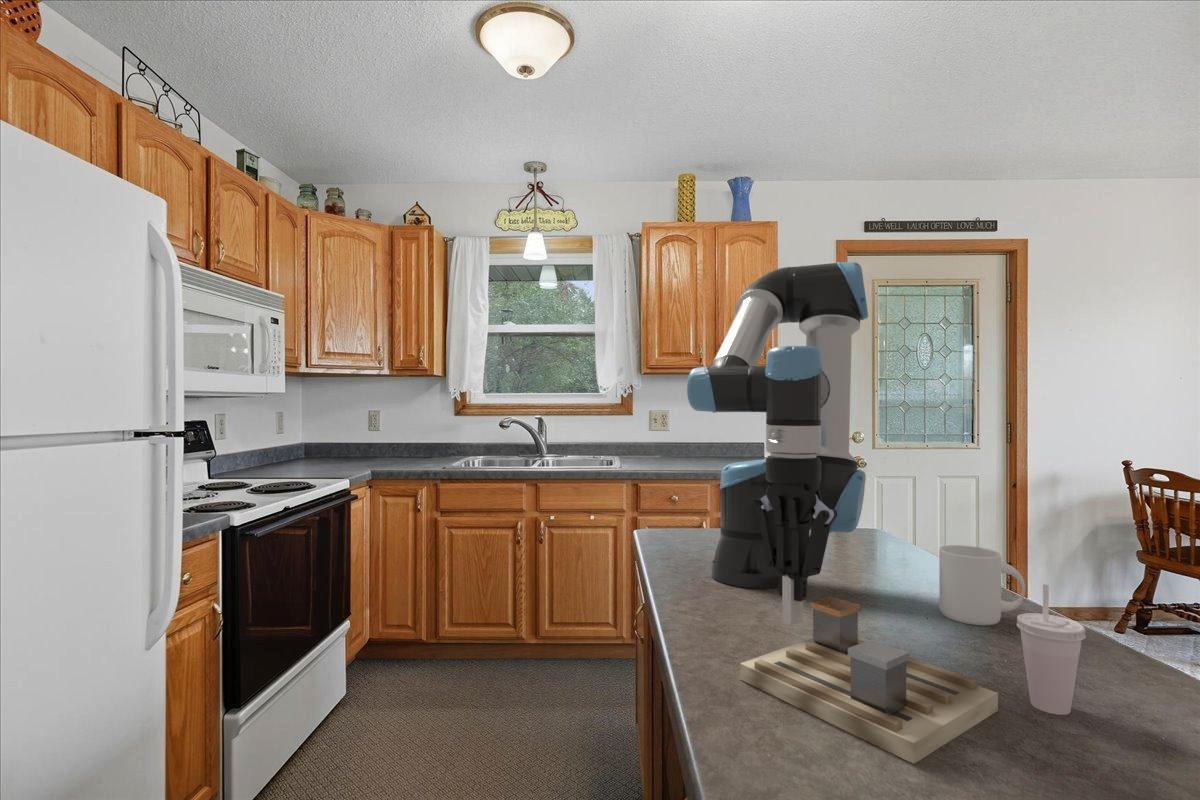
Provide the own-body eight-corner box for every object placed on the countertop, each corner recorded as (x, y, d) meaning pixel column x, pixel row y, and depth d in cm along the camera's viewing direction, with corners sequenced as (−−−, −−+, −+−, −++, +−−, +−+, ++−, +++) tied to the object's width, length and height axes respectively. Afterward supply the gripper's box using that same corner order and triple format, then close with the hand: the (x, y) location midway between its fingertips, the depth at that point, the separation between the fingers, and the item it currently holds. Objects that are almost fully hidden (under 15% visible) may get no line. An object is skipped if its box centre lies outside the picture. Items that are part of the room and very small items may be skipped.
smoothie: (1003, 694, 73) (1003, 576, 73) (1053, 692, 74) (1053, 575, 74) (1046, 722, 67) (1046, 593, 67) (1101, 720, 68) (1101, 592, 68)
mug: (1033, 632, 93) (1033, 561, 94) (944, 622, 98) (944, 554, 98) (1017, 614, 102) (1017, 549, 102) (935, 605, 106) (935, 543, 106)
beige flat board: (739, 679, 77) (739, 656, 77) (827, 647, 88) (827, 627, 88) (913, 763, 59) (913, 734, 59) (997, 710, 69) (997, 685, 69)
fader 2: (847, 701, 67) (847, 648, 67) (870, 690, 69) (870, 639, 69) (886, 718, 63) (886, 662, 63) (909, 706, 66) (909, 652, 66)
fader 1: (810, 645, 82) (810, 601, 83) (830, 638, 85) (830, 596, 85) (840, 656, 79) (840, 611, 79) (859, 648, 81) (860, 604, 81)
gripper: (740, 453, 91) (739, 613, 91) (816, 460, 80) (815, 641, 80) (773, 451, 95) (773, 604, 95) (850, 457, 84) (849, 629, 84)
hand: (792, 621), depth 87 cm, fingers closed
